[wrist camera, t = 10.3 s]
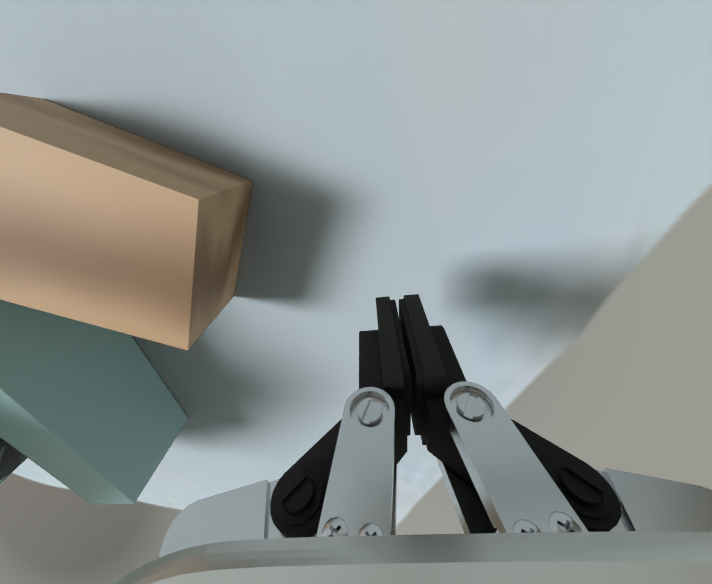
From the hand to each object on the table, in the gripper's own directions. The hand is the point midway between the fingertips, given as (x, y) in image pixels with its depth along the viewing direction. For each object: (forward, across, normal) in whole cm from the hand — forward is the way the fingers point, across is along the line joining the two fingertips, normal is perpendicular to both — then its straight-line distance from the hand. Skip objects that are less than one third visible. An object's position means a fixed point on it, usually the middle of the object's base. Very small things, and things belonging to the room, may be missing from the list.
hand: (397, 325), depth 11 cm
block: (+5, +12, -4) cm, 14 cm away
